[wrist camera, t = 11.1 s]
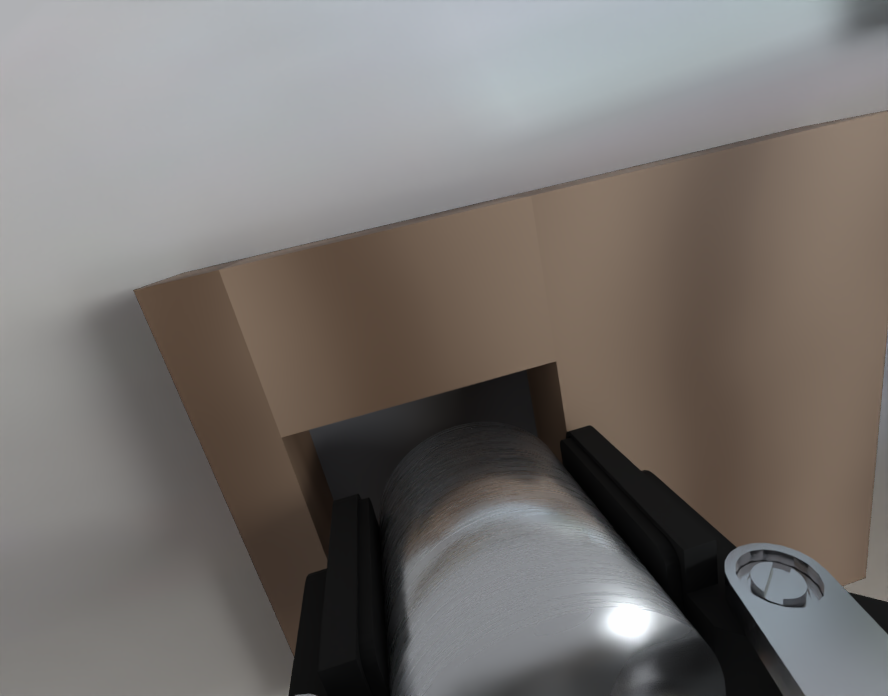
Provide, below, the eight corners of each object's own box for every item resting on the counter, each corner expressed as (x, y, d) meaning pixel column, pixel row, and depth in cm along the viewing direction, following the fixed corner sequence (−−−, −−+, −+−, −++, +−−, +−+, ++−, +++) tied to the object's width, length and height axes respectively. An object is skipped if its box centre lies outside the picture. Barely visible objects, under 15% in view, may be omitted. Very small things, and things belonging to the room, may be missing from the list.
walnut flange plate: (801, 127, 12) (918, 104, 10) (792, 524, 16) (872, 582, 14) (183, 272, 11) (128, 292, 8) (343, 675, 15) (340, 772, 12)
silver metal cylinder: (551, 398, 10) (721, 561, 5) (577, 556, 11) (729, 796, 7) (355, 454, 10) (351, 685, 5) (405, 612, 11) (440, 911, 6)
